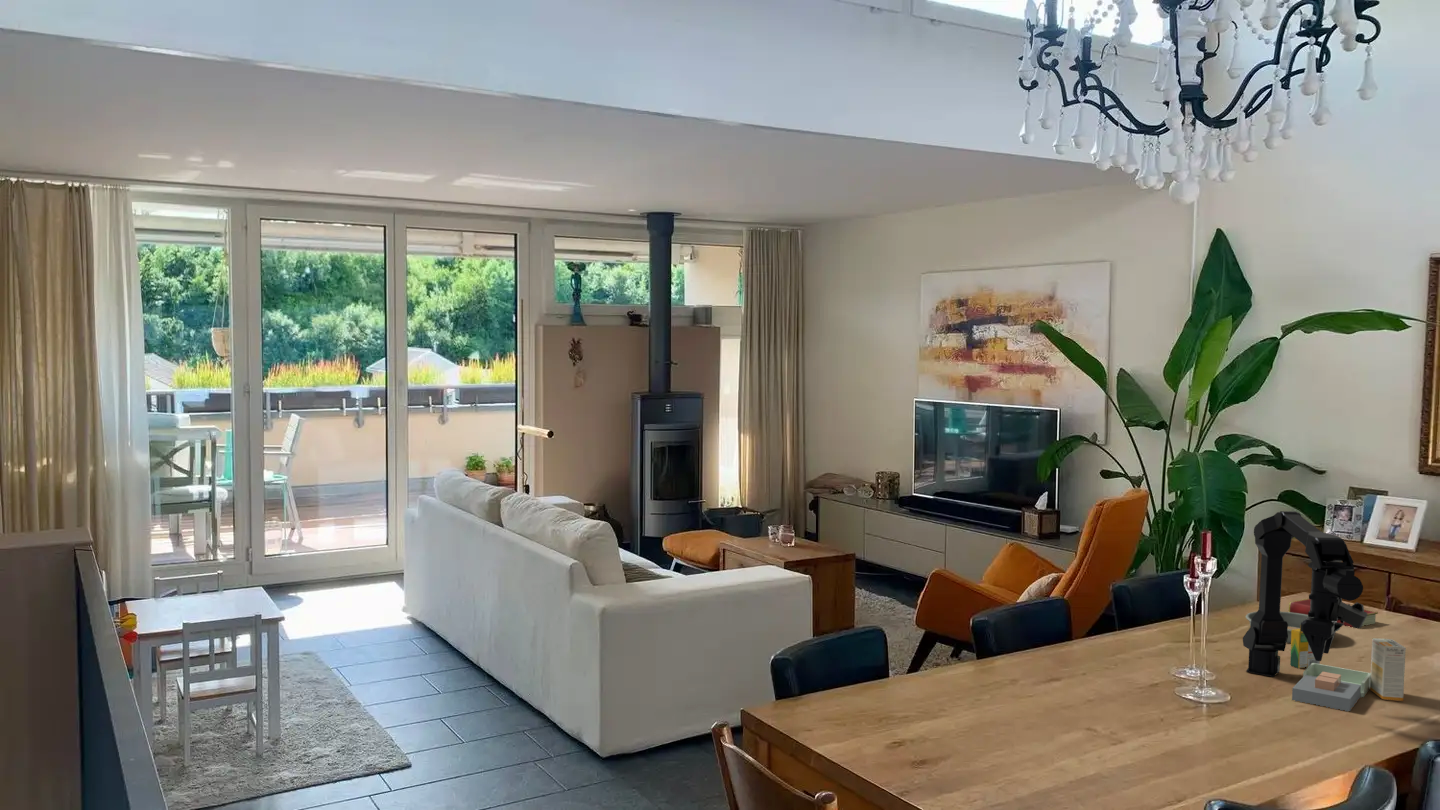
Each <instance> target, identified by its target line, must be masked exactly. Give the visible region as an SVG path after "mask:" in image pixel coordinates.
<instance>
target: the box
mask: <svg viewBox="0 0 1440 810" xmlns="http://www.w3.org/2000/svg"><path fill="white" fill-rule="evenodd" d="M1322 672H1328V673H1334V674H1339V675H1341V681H1342V682H1347V683H1353V684H1358V685H1361V693H1360V698H1362V697H1363V698H1364V697H1365V696H1366V695H1365V694H1367V693H1368V692H1369V691H1370V678H1371V672H1367V671H1361V670H1357V669H1356V670H1354V669H1350V668H1343V667H1339V666H1334V665H1333V666H1332V665H1326V664H1322V663H1320V664H1317V663H1312V664H1311V665H1310V666H1309V667H1306V668H1305V670H1304V671H1303V673H1302V678H1303V677H1304V676H1305V675H1309V676H1315V677H1318V676H1319V675H1320V674H1321V673H1322ZM1368 690H1369V691H1368Z"/></svg>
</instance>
